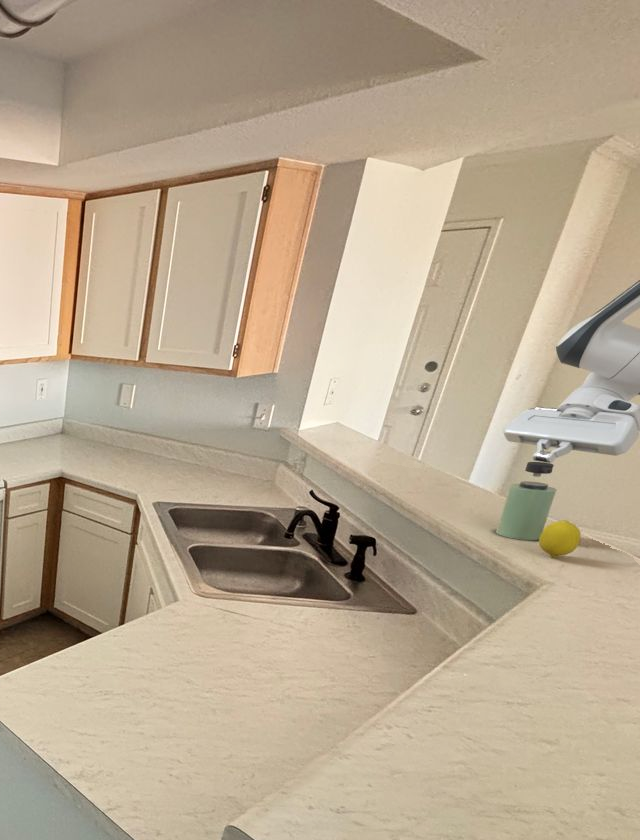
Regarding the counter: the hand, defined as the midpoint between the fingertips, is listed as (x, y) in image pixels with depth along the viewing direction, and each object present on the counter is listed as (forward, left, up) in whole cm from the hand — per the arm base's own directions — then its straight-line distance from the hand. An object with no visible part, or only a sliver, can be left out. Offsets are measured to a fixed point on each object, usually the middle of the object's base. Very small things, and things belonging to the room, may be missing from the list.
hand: (541, 460), depth 127 cm
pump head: (0, +1, -4) cm, 4 cm away
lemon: (-1, +15, -17) cm, 23 cm away
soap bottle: (0, 0, -17) cm, 17 cm away
